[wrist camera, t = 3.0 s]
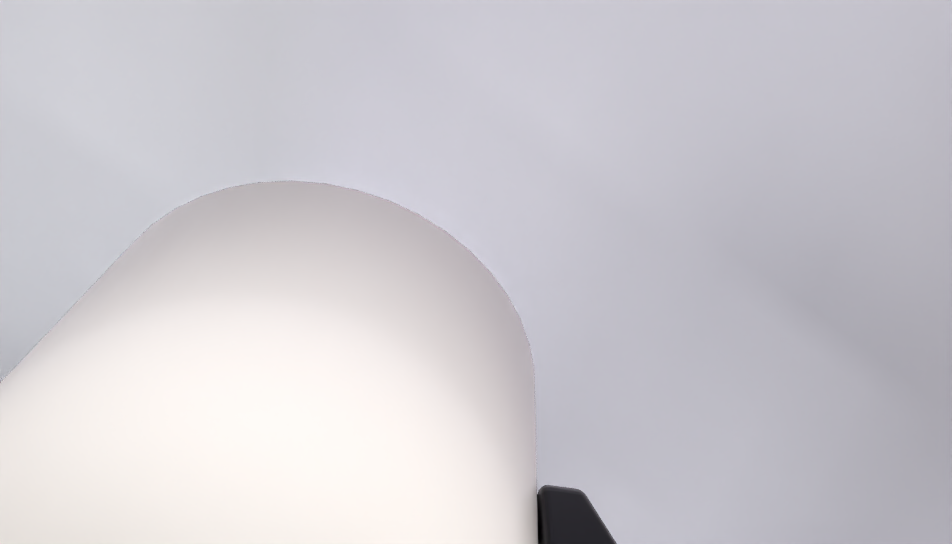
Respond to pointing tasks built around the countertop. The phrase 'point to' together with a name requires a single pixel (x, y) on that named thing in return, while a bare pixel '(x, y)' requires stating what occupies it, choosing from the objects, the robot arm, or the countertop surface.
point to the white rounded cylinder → (277, 386)
